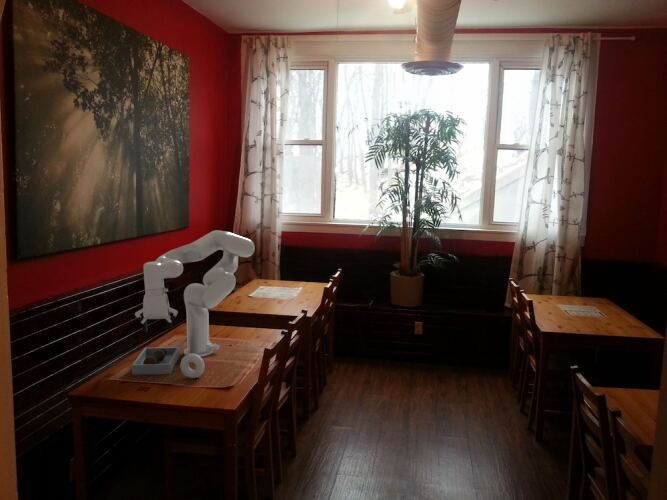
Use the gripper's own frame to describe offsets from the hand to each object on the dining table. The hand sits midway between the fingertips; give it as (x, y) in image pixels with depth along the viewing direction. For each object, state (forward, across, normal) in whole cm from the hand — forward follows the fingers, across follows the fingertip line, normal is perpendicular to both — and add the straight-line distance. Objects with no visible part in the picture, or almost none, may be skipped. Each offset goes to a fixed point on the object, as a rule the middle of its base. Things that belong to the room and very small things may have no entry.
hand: (157, 331), depth 224 cm
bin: (+14, +1, +1) cm, 14 cm away
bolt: (+14, +1, +1) cm, 14 cm away
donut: (+15, -16, +16) cm, 27 cm away
